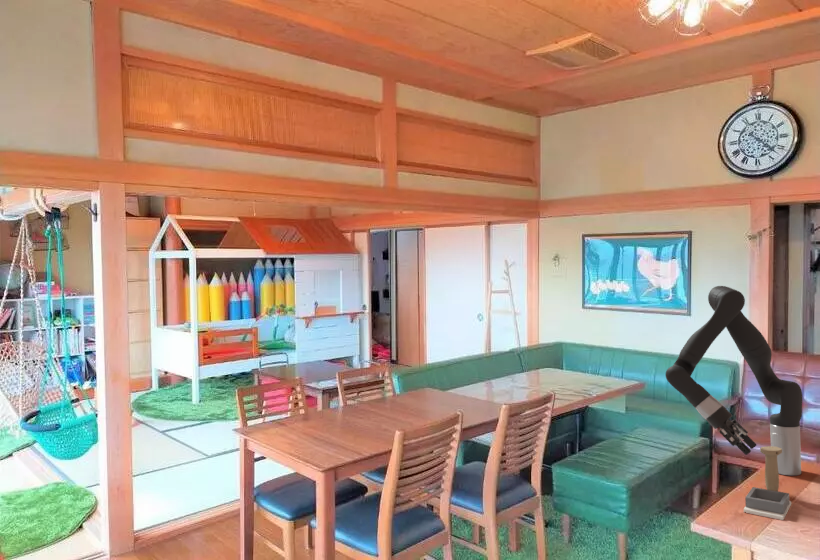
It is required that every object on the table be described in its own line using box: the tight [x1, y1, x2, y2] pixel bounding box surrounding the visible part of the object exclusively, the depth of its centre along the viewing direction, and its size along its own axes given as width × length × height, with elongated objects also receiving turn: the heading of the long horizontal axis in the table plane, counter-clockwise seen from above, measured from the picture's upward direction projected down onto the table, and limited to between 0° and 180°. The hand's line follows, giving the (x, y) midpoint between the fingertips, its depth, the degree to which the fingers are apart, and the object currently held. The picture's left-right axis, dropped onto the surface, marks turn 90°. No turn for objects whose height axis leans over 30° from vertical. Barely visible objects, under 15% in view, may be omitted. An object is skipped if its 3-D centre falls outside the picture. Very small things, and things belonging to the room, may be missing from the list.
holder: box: [743, 486, 792, 521], centre depth 187 cm, size 15×10×4 cm
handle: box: [759, 445, 782, 492], centre depth 198 cm, size 5×6×15 cm
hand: (751, 450), depth 202 cm, fingers open, 8 cm apart
